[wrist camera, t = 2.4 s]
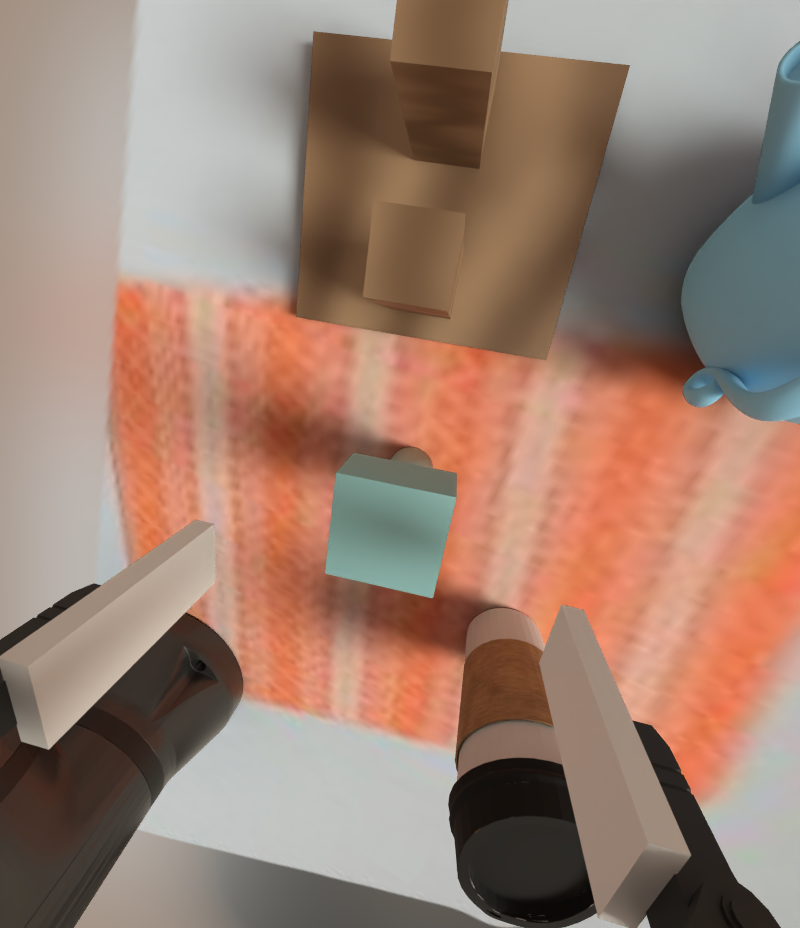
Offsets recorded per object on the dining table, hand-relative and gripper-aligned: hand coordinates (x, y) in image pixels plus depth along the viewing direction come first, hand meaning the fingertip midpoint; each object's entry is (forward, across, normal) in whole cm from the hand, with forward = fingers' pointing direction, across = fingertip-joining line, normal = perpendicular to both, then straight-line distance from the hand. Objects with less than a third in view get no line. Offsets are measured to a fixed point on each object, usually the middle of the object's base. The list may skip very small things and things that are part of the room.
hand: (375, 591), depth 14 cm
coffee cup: (+15, +10, -13) cm, 22 cm away
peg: (+14, 0, 0) cm, 14 cm away
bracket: (+14, -2, +16) cm, 21 cm away
